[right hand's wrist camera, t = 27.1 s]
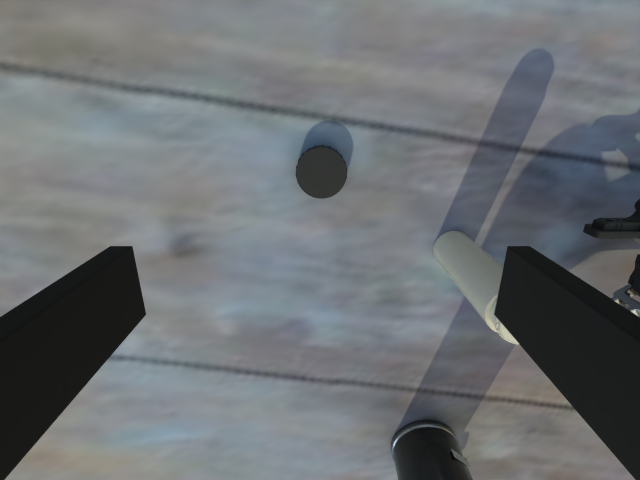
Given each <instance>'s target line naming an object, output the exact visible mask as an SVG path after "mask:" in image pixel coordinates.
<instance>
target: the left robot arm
mask: <svg viewBox="0 0 640 480" xmlns="http://www.w3.org/2000/svg"><path fill="white" fill-rule="evenodd" d="M635 209H636V211H635V213H634V214H633V215H632V216H630V217H627V218H598V219H595V220H593V223H592V224H585V227H584V230H583V232H584V233H587V234H589V235H591V236H593V237H596V238H600V239H634V240H635V241H636V242H637V243H638V244H639V245H640V199H639V200H638V201H637V202H636V203H635ZM628 283H629V284H628V285H626V286H625V287H623V288H621V289H619V290H617V291H615V292H614V294H613V295H614V297H613V298H611V299H612V300H614V301H615V302H617V303H618V304H620V305H622V306H623V307H625V308H626V309H628V310H629V311H631V312H632V313H634V314H636V315H637V316H639V317H640V302H638V301H636V300H634V299H633V298H632V297H634V296H636V295H638V296H640V254H638V255H637V258H636V261H635V269H634V271H633V273H632V274H631V276H630V278H629V281H628ZM391 451H392V456H393V459H394V461H395V466H396V471H397V476H398V480H473V479H472V477H471V474H470V472H469V470H468V467H467V466H469V464H468V462H467V459H466V458H464V457H463V455H462V453H461V450H460V448H459V444H458V441H457V439H456V436H455V434H454V432H453V431H452V430H451V429H450V428H449V427H448V426H446V425H444V424H442V423H439V422H435V421H420V422H415V423H412V424H409V425H407V426H405V427H404V428H402V429H401V430H400V431H399V432H398V433H397V434H396V435H395V436H394V438H393V440H392V443H391ZM469 467H470V466H469Z"/></svg>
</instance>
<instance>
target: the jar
mask: <svg viewBox="0 0 640 480" xmlns="http://www.w3.org/2000/svg"><path fill="white" fill-rule="evenodd" d="M433 254H434V257H435V259H436V260H437V261H438V263H439V264H440V265H441V266H442V268H443V269H444V270H445V271H446V273H447V274H448V275H449V277H450V278H451V279H452V280H453V282H454V283H455V284H456V285H457V287H458V288H459V289H460V291H461V292H462V293H463V294H464V296H465V297H466V298H467V300H468V301H469V302H470V303H471V305H472V306H473V307H474V308H475V310H476V311H477V312H478V314H479V315H480V316H481V317H482V319H483V320H484V321H485V322H486V324H487V325H488V326H489V327H490V328H491V329H492V330H493V331H495V332H497V333H498V334H499V335H500V336H501V337H502V338H503V339H504V340H506V341H508V342H509V343H513V344H519V343H518V342H517V341H516V340H515V338H514V337H513V336H512V335H511V334H510V333H509V331H508V330H507V329H506V328H505V327H504V326H503V324H502V323H501V322H500V321H499V320H498V319H497V317H496V316H495V315H494V312H495V307H496V302H497V297H498V292H499V287H500V282H501V277H502V272H503V267H504V266H502V265H501V264H500V263H499V262H498V261H497V260H495V259H494V258H493V257H492V256H491V255H489V254H488V253H487V252H486V251H485V250H483V249H482V248H481V247H480V246H479V245H478V244H476V243H475V242H474V241H473V240H472V239H470V238H469V237H468V236H467V235H466V234H464V233H463V232H460V231H449V232H446V233H444V234H442V235H441V236H440V237H439V238H438V239H437V240H436V242H435V244H434V247H433Z"/></svg>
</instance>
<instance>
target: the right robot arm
mask: <svg viewBox="0 0 640 480" xmlns="http://www.w3.org/2000/svg"><path fill="white" fill-rule="evenodd" d="M145 315H146V312H145V307H144V302H143V297H142V292H141V287H140V282H139V277H138V272H137V267H136V262H135V257H134V252H133V247H132V246H110V247H109V248H107V249H105V250H104V251H102V252H101V253H99V254H98V255H96V256H95V257H93V258H91V259H90V260H88V261H87V262H85V263H84V264H82V265H81V266H79V267H77V268H76V269H74V270H73V271H71V272H70V273H68V274H67V275H65V276H63V277H62V278H60V279H59V280H57V281H56V282H54V283H53V284H51V285H49V286H48V287H46V288H45V289H43V290H42V291H40V292H39V293H37V294H36V295H34V296H32V297H31V298H29V299H28V300H26V301H25V302H23V303H22V304H20V305H18V306H17V307H15V308H14V309H12V310H11V311H9V312H8V313H6V314H4V315H3V316H1V317H0V480H4V479H5V478H6V477H7V476H8V475H9V474H10V472H11V471H12V470H13V469H14V468H15V467H16V465H17V464H18V463H19V462H20V461H21V460H22V458H23V457H24V456H25V455H26V454H27V453H28V451H29V450H30V449H31V448H32V447H33V446H34V444H35V443H36V442H37V441H38V440H39V439H40V437H41V436H42V435H43V434H44V433H45V432H46V430H47V429H48V428H49V427H50V426H51V425H52V423H53V422H54V421H55V420H56V419H57V418H58V416H59V415H60V414H61V413H62V412H63V411H64V409H65V408H66V407H67V406H68V405H69V404H70V402H71V401H72V400H73V399H74V398H75V397H76V395H77V394H78V393H79V392H80V391H81V390H82V388H83V387H84V386H85V385H86V384H87V383H88V381H89V380H90V379H91V378H92V377H93V376H94V374H95V373H96V372H97V371H98V370H99V369H100V367H101V366H102V365H103V364H104V363H105V362H106V360H107V359H108V358H109V357H110V356H111V355H112V353H113V352H114V351H115V350H116V349H117V348H118V346H119V345H120V344H121V343H122V342H123V341H124V339H125V338H126V337H127V336H128V335H129V334H130V333H131V331H132V330H133V329H134V328H135V327H136V326H137V324H138V323H139V322H140V321H141V320H142V319H143V317H144V316H145ZM494 315H495V316H496V317H497V319H498V320H499V321H500V322H501V323H502V324H503V326H504V327H505V328H506V329H507V330H508V331H509V333H510V334H511V335H512V336H513V337H514V338H515V340H516V341H517V342H518V343H519V344H520V345H521V346H522V348H523V349H524V350H525V351H526V352H527V353H528V355H529V356H530V357H531V358H532V359H533V360H534V362H535V363H536V364H537V365H538V366H539V367H540V369H541V370H542V371H543V372H544V373H545V374H546V376H547V377H548V378H549V379H550V380H551V381H552V383H553V384H554V385H555V386H556V387H557V388H558V390H559V391H560V392H561V393H562V394H563V395H564V397H565V398H566V399H567V400H568V401H569V402H570V404H571V405H572V406H573V407H574V408H575V409H576V411H577V412H578V413H579V414H580V415H581V416H582V418H583V419H584V420H585V421H586V422H587V423H588V425H589V426H590V427H591V428H592V429H593V430H594V432H595V433H596V434H597V435H598V436H599V437H600V439H601V440H602V441H603V442H604V443H605V444H606V446H607V447H608V448H609V449H610V450H611V451H612V453H613V454H614V455H615V456H616V457H617V458H618V460H619V461H620V462H621V463H622V464H623V465H624V467H625V468H626V469H627V470H628V471H629V472H630V474H631V475H632V476H633V477H634V478H635V479H636V480H640V317H639V316H637V315H636V314H634V313H632V312H631V311H629V310H628V309H626V308H625V307H623V306H622V305H620V304H618V303H617V302H615V301H614V300H612V299H611V298H609V297H608V296H606V295H604V294H603V293H601V292H600V291H598V290H597V289H595V288H594V287H592V286H591V285H589V284H587V283H586V282H584V281H583V280H581V279H580V278H578V277H577V276H575V275H573V274H572V273H570V272H569V271H567V270H566V269H564V268H563V267H561V266H559V265H558V264H556V263H555V262H553V261H552V260H550V259H549V258H547V257H545V256H544V255H542V254H541V253H539V252H538V251H536V250H535V249H533V248H531V247H530V246H508V247H507V252H506V257H505V262H504V267H503V272H502V277H501V282H500V287H499V292H498V297H497V302H496V307H495V312H494Z"/></svg>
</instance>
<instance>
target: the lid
mask: <svg viewBox="0 0 640 480" xmlns="http://www.w3.org/2000/svg"><path fill="white" fill-rule="evenodd" d="M345 164H346V163H345V161H344V160H343V158H342V155H340V154H339V153H338V152H337V150H334V149H333V148H331V147H330V146H329V147H328V146H323V145H322V146H315V147H312V148H310V149H308V150H307V151H306V152H305V153H303V154H302V156H301V158H300V159H299V160H298V165H297V166H296V177H297V181H298V184H299V186H300V187H301V189H302V190H303V191H304V192H305V193H307V194H308V195H310V196H312V197H315V198H328V197H331V196H333V195H335V194H336V193H338V192H339V191H340V190H341V189H342V187H343V186H344V184H345V181H346V178H347V168H346V165H345Z"/></svg>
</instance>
